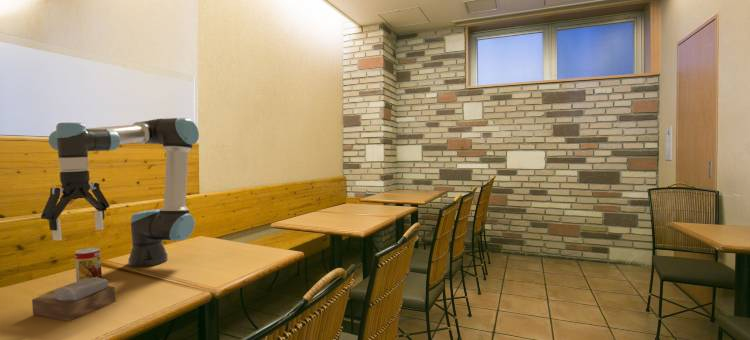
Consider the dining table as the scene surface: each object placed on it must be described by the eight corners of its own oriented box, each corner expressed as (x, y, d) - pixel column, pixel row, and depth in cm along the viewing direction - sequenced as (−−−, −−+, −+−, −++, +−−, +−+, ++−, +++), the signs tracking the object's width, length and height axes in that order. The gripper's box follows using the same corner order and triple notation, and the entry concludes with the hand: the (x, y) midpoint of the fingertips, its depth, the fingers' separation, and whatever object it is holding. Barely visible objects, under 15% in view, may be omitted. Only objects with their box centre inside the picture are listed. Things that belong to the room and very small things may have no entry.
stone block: (50, 305, 117) (75, 301, 115) (48, 289, 117) (73, 285, 115) (88, 292, 129) (111, 288, 126) (85, 278, 129) (108, 274, 126)
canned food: (104, 280, 148) (102, 250, 147) (78, 285, 142) (76, 254, 142) (99, 275, 154) (97, 246, 153) (75, 280, 148) (73, 250, 147)
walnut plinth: (82, 296, 132) (81, 282, 132) (115, 301, 128) (114, 286, 128) (33, 315, 118) (32, 299, 118) (68, 321, 114) (67, 304, 113)
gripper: (102, 167, 137) (106, 225, 138) (21, 174, 113) (28, 244, 115) (118, 167, 135) (122, 226, 136) (39, 174, 111) (46, 245, 112)
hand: (79, 234), depth 125 cm, fingers open, 13 cm apart
